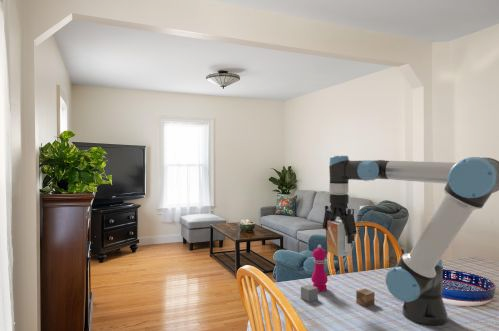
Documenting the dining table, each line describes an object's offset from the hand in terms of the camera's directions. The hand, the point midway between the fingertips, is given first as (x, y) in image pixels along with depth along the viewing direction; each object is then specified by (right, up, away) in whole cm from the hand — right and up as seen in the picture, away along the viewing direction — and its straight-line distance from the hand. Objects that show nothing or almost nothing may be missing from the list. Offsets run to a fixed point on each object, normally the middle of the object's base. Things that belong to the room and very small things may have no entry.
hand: (338, 248), depth 147 cm
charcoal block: (-11, -22, +5) cm, 26 cm away
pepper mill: (-5, -22, +17) cm, 28 cm away
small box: (0, -2, 0) cm, 2 cm away
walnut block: (+11, -22, 0) cm, 25 cm away
